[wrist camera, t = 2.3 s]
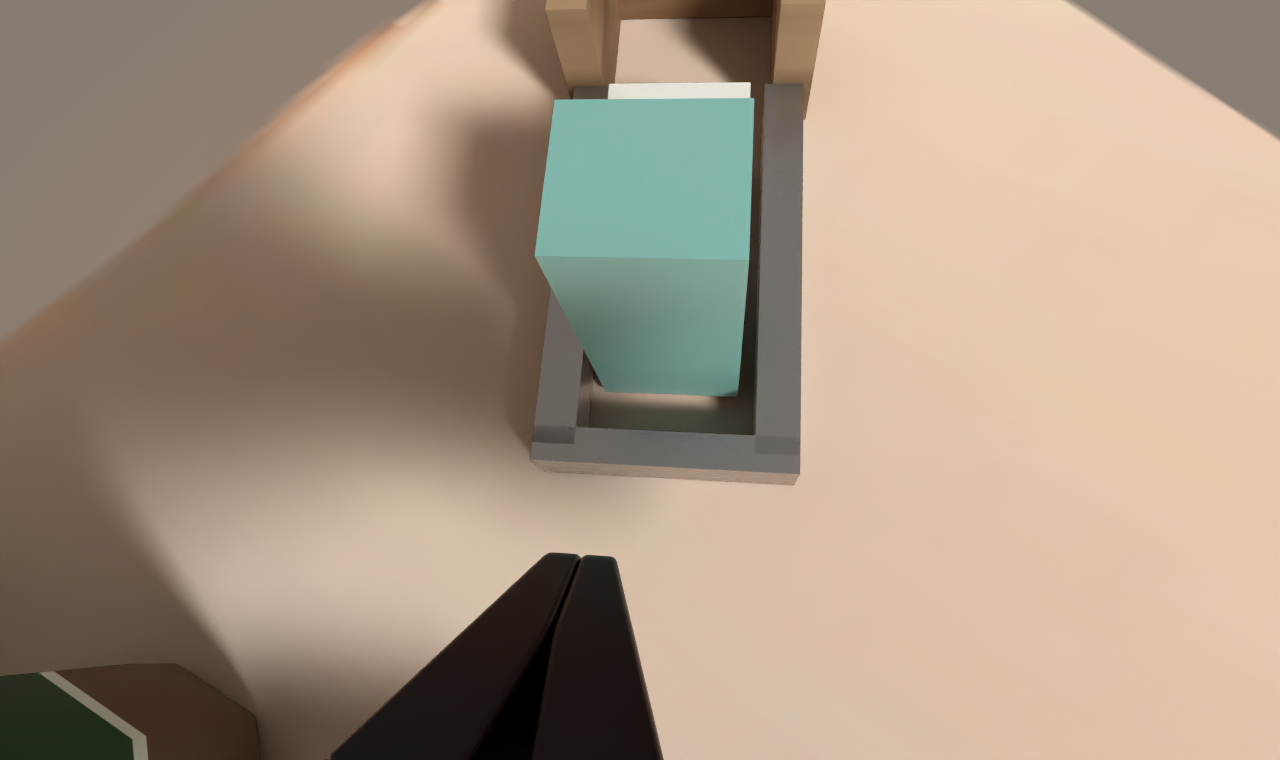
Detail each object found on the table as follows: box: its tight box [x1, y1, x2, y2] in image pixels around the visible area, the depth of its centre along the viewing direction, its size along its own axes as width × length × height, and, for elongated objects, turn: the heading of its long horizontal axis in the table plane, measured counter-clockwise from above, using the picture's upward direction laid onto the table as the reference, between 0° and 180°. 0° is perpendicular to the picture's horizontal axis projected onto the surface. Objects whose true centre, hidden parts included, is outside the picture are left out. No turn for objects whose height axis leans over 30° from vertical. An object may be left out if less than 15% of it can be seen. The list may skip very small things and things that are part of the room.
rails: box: [530, 83, 803, 485], centre depth 22 cm, size 12×7×2 cm, turn 176°
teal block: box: [534, 82, 754, 397], centre depth 19 cm, size 8×4×9 cm, turn 176°
